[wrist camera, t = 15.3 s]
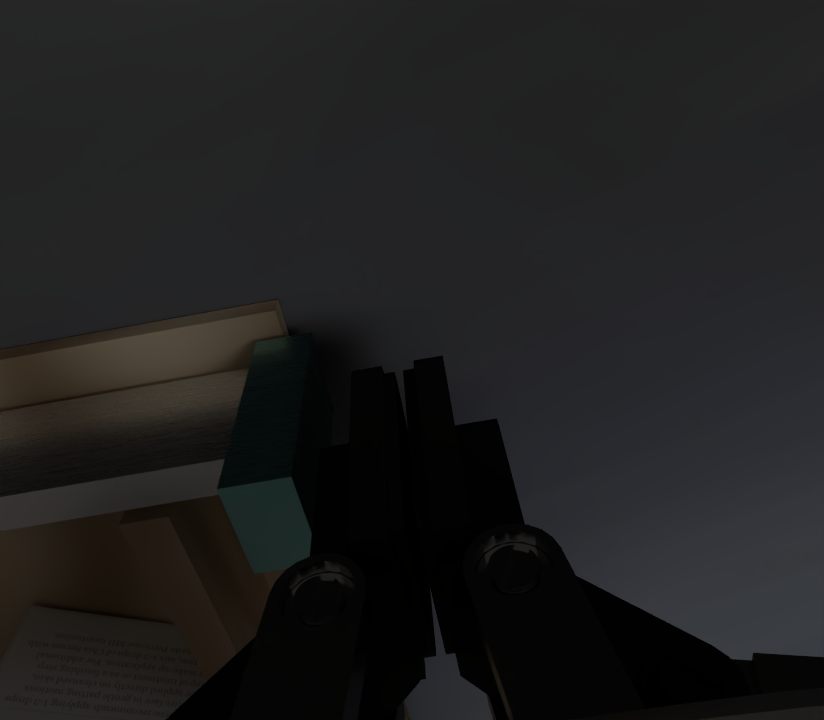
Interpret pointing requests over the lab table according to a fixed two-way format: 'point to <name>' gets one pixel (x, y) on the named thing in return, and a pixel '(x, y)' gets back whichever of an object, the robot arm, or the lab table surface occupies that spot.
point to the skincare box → (94, 668)
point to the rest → (148, 526)
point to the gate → (182, 451)
